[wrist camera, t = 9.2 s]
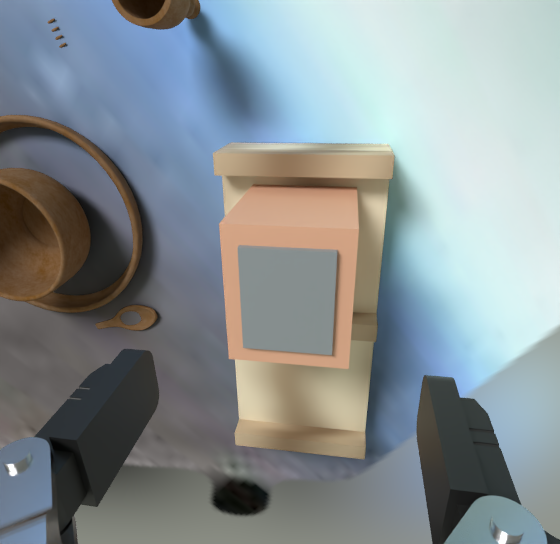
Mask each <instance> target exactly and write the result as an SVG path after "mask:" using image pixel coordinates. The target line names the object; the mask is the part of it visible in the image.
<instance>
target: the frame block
mask: <svg viewBox="0 0 560 544" xmlns="http://www.w3.org/2000/svg"><path fill="white" fill-rule="evenodd" d="M219 228H220V241H221V255H222V269H223V282H224V296H225V309H226V323H227V337H228V350H229V359H237V360H249V361H260V362H272V363H283V364H295V365H307V366H318V367H330V368H341V369H349V358H350V344H351V330H352V317H353V303H354V289H355V276H356V262H357V249H358V235H359V221H358V200H357V187H335V186H298V185H261V184H253V185H252V186H251V187H250V189H249V190H248V191H247V192H246V193H245V194H244V196H243V197H242V198H241V199H240V200H239V201H238V202H237V204H236V205H235V206H234V207H233V208H232V209H231V211H230V212H229V213H228V214H227V215H226V216H225V217H224V219H223V220H222V221H221V222H220V223H219Z"/></svg>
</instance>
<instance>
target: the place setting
mask: <svg viewBox="0 0 560 544" xmlns="http://www.w3.org/2000/svg"><path fill="white" fill-rule="evenodd" d="M112 2H113V4H114V6H115V7H116V9H117V10H118V12H119V13H120V14H121V15H122V16H123V17H124V18H125V19H126V20H128V21H129V22H131V23H133V24H136V25H139V26H142V27H146V28H152V29H170V28H173V27H175V26H177V25H178V24H180V23H181V22H182V21H183V20H184V18H188V19H194V18H196V17H197V16H198V14H199V12H200V3H199V1H198V0H112ZM54 20H55V19H52V20H50V21H48V23H52V22H53V21H54ZM58 28H59V27H56V28H54V29H52V32H54V31H56V30H57V29H58ZM61 37H62V35H60V36H58V37H56V38H55V39H56V40H58V39H60V38H61ZM65 45H66V43H64V44H61V45H60V46H59V47H60V48H62V47H64V46H65ZM19 127H39V128H45V129H49V130H53V131H55V132H58V133H60V134H62V135H63V136H65V137H67V138H69V139H70V140H72V141H74V142H75V143H76V144H78V145H79V146H80V147H82V148H83V149H84V150H86V151H87V152H88V153H89V154H90V155H91V156H92V157H93V158H94V159H95V160H96V161H97V162H98V163H99V164H100V165H101V166H102V168H103V169H104V170H105V171H106V172H107V174H108V175H109V176H110V178H111V179H112V181H113V182H114V184H115V185H116V187H117V189H118V191H119V192H120V194H121V196H122V198H123V201H124V203H125V205H126V208H127V210H128V214H129V217H130V221H131V226H132V232H133V253H132V258H131V261H130V263H129V265H128V267H127V269H126V270H125V272H124V273H123V275H122V276H121V277H120V278H119V279H118V280H117V281H116V282H115V283H113V284H112V285H111V286H109V287H108V288H106V289H104V290H102V291H99V292H96V293H93V294H88V295H78V296H74V295H64V294H58V293H54V292H53V291H55V290H56V289H57V288H59V287H60V286H61V285H63V284H64V283H65V282H67V281H68V280H69V279H70V278H72V277H73V276H74V275H75V274H76V273H77V272H78V271H79V269H80V268H81V267H82V266H83V264H84V262H85V261H86V259H87V256H88V253H89V249H90V242H91V235H90V228H89V223H88V220H87V217H86V215H85V213H84V210H83V209H82V207H81V205H80V204H79V202H78V201H77V199H76V198H75V197H74V196H73V195H72V194H71V192H70V191H69V190H68V189H66V188H65V187H64V186H63V185H62V184H60V183H59V182H58V181H56V180H55V179H53V178H51V177H49V176H47V175H45V174H43V173H40V172H37V171H34V170H30V169H24V168H7V169H0V297H3V298H6V299H10V300H15V301H25V302H27V303H29V304H32V305H34V306H37V307H40V308H43V309H46V310H51V311H56V312H66V313H74V312H84V311H89V310H93V309H96V308H99V307H101V306H103V305H105V304H107V303H109V302H110V301H111V300H113V299H114V298H115V297H117V296H118V295H119V294H120V293H121V292H122V291H123V290H124V288H125V287H126V286H127V285H128V283H129V282H130V280H131V279H132V277H133V276H134V273H135V271H136V269H137V267H138V264H139V260H140V257H141V252H142V243H143V237H142V224H141V218H140V214H139V210H138V207H137V203H136V201H135V198H134V196H133V194H132V191H131V189H130V188H129V186H128V184H127V182H126V180H125V179H124V177H123V176H122V174H121V173H120V171H119V170H118V168H117V167H116V166H115V165H114V164H113V162H112V161H111V160H110V159H109V158H108V157H107V156H106V155H105V154H104V153H103V152H102V151H101V150H100V149H99V148H98V147H97V146H96V145H94V144H93V143H92V142H90V141H89V140H88V139H87V138H85V137H84V136H82V135H81V134H79V133H77V132H76V131H74V130H72V129H70V128H68V127H66V126H64V125H61V124H59V123H57V122H54V121H51V120H47V119H44V118H40V117H34V116H28V115H7V116H0V133H2V132H3V131H6V130H10V129H13V128H19ZM128 311H134V312H137V313H139V315H140V316H141V321H140V322H139V323H138V324H136V325H125V324H124V323H123V322H122V321H121V319H120V316H121V315H122V314H123V313H125V312H128ZM157 318H158V316H157V314H156V312H155V310H154V309H152V308H150V307H147V306H142V305H130V306H127V307H124V308H123V309H121V310H120V311H119V312H118V313H117V315H116V316H115V317H114V318H112V319H110V320H107V321H104V322H100V323H97V324H95V325H96V327H97V328H98V329H102V328H108V327H122V328H125V329H129V330H136V331H137V330H144V329H147V328H149V327H150V326H151V325H152V324H153V323H154V322H155V321H156V320H157Z"/></svg>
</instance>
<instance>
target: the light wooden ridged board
mask: <svg viewBox="0 0 560 544" xmlns="http://www.w3.org/2000/svg"><path fill="white" fill-rule="evenodd" d="M394 156H395V155H394V154H393V152H392V150H391V148H390V146H389V144H328V143H229V144H228V145H226V146H224V147H223V148H221V149H219V150H218V151H216V152H214V153H213V160H214V173H215V175H221V176H222V181H223V195H224V209H225V216H226V215H227V214H228V213H229V212H230V211H231V209H232V208H233V207H234V206H235V205H236V204H237V202H238V201H239V200H240V199H241V198H242V197H243V196H244V194H245V193H246V192H247V191H248V190H249V189H250V187H251V186H252V185H253V184H261V185H298V186H335V187H357V200H358V221H359V235H358V249H357V262H356V276H355V289H354V303H353V317H352V330H351V344H350V358H349V369H341V368H330V367H318V366H307V365H295V364H283V363H272V362H260V361H249V360H237V359H235V365H236V379H237V393H238V407H239V422H238V425H237V428H236V431H235V442H236V445H241V446H250V447H259V448H268V449H277V450H286V451H295V452H304V453H312V454H321V455H330V456H339V457H348V458H357V459H365V449H366V443H365V428H366V417H367V407H368V396H369V386H370V376H371V365H372V355H373V344H374V342H376V338H377V328H378V324H377V314H376V313H377V303H378V293H379V282H380V272H381V261H382V251H383V241H384V230H385V220H386V210H387V199H388V189H389V179H392V176H393V166H394ZM226 327H227V323H226Z"/></svg>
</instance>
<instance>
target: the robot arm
mask: <svg viewBox="0 0 560 544" xmlns="http://www.w3.org/2000/svg"><path fill="white" fill-rule="evenodd" d="M158 400H159V388H158V383H157V377H156V372H155V367H154V361H153V356H152V354H151V352H150V351H146V350H134V349H124V350H122V351H121V352H120V353H119V355H118V356H117V357H116V358H115V359H114V361H113V362H112V363H111V364H105V365H103V366H102V367H100V368H99V369H97V370H96V371H94V372H92V373H91V374H90V375H89V376H88V377H87V378H86V379H85V380H84V381H83V383H82V384H81V385H80V386H79V389H76V390H75V392H74V393H73V394H72V395H71V396H70V399H67V401H66V402H65V403H64V404H63V405H62V406H61V407H60V408H59V410H58V411H57V412H56V413H55V414H54V415H53V416H52V417H51V419H50V420H49V421H48V422H47V423H46V424H45V425H44V427H43V428H42V429H41V430H40V431H39V432H38V433H37V434H36V436H35V437H29V438H24V439H20V440H17V441H15V442H12V443H10V444H8V445H7V446H5V447H3V448H2V449H1V450H0V544H78V539H77V529H76V521H75V517H74V514H75V512H76V511H77V509H78V507H79V506H80V505H81V504H82V505H89V506H95V507H97V506H98V505H99V503H100V501H101V500H102V498H103V496H104V495H105V493H106V492H107V490H108V488H109V487H110V485H111V483H112V481H113V480H114V478H115V477H116V475H117V473H118V472H119V470H120V468H121V467H122V465H123V463H124V462H125V460H126V458H127V457H128V455H129V453H130V452H131V450H132V448H133V447H134V445H135V443H136V442H137V440H138V438H139V437H140V435H141V433H142V432H143V430H144V428H145V427H146V425H147V423H148V422H149V420H150V418H151V417H152V415H153V413H154V412H155V410H156V407H157V404H158ZM417 442H418V448H419V455H420V462H421V469H422V475H423V482H424V488H425V495H426V502H427V508H428V515H429V521H430V528H431V535H432V542H433V544H560V540H559V539H557V538H555V537H554V536H552V535H550V534H549V533H547V532H546V531H544V530H543V528H542V526H541V524H540V523H539V521H538V520H537V519H536V518H535V517H534V516H533V515H532V513H530V512H529V511H528V510H527V509H526V508H524V507H523V506H522V505H521V503H520V500H519V498H518V495H517V493H516V490H515V487H514V484H513V481H512V479H511V476H510V473H509V471H508V468H507V465H506V462H505V460H504V457H503V454H502V451H501V449H500V448H499V443H498V440H497V438H496V435H495V434H494V429H493V427H492V424H491V421H490V419H489V416H488V414H487V413H486V411H485V410H484V409H483V408H482V407H481V406H480V405H479V404H478V403H477V401H476V400H475V399H470V398H460V397H459V393H458V390H457V387H456V383H455V380H454V378H451V377H440V376H428V375H425V376H424V377H423V382H422V389H421V395H420V402H419V409H418V416H417Z"/></svg>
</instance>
